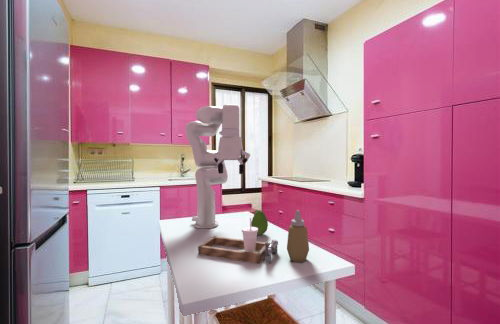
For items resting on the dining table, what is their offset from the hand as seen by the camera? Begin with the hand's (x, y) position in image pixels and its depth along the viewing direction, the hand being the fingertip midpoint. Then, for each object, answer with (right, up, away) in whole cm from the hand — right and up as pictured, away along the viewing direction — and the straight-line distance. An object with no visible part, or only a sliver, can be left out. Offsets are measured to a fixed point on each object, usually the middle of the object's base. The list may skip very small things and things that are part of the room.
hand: (231, 173), depth 108 cm
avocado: (+13, -30, +12) cm, 35 cm away
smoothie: (+8, -31, -12) cm, 34 cm away
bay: (+2, -31, -9) cm, 32 cm away
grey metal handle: (+16, -31, -15) cm, 38 cm away
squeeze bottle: (+26, -31, -16) cm, 43 cm away
